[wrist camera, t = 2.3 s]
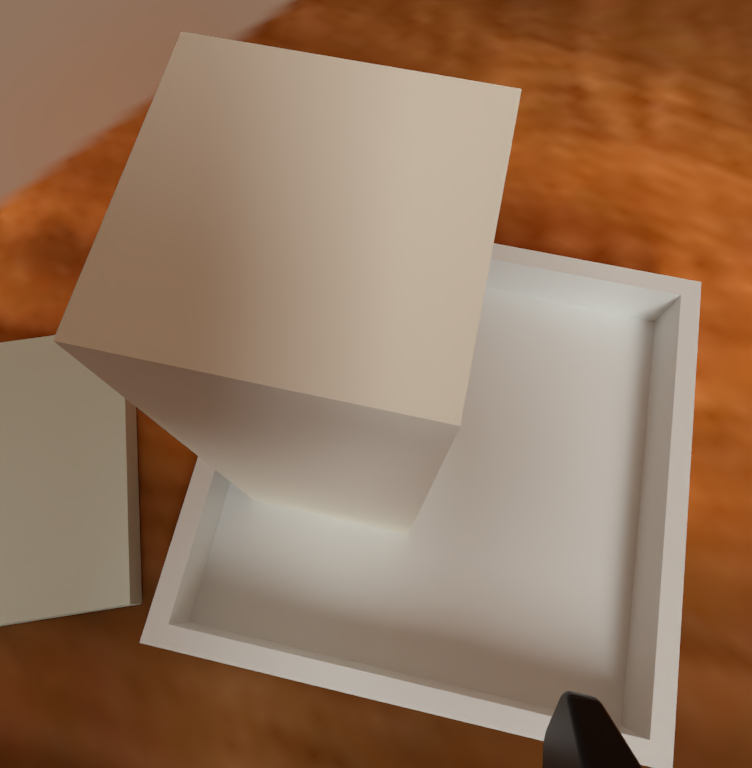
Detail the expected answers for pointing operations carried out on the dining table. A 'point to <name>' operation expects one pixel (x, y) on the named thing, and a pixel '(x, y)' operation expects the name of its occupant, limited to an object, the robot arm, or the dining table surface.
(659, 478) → the parts tray
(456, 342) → the carton
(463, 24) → the dining table surface
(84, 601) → the board
